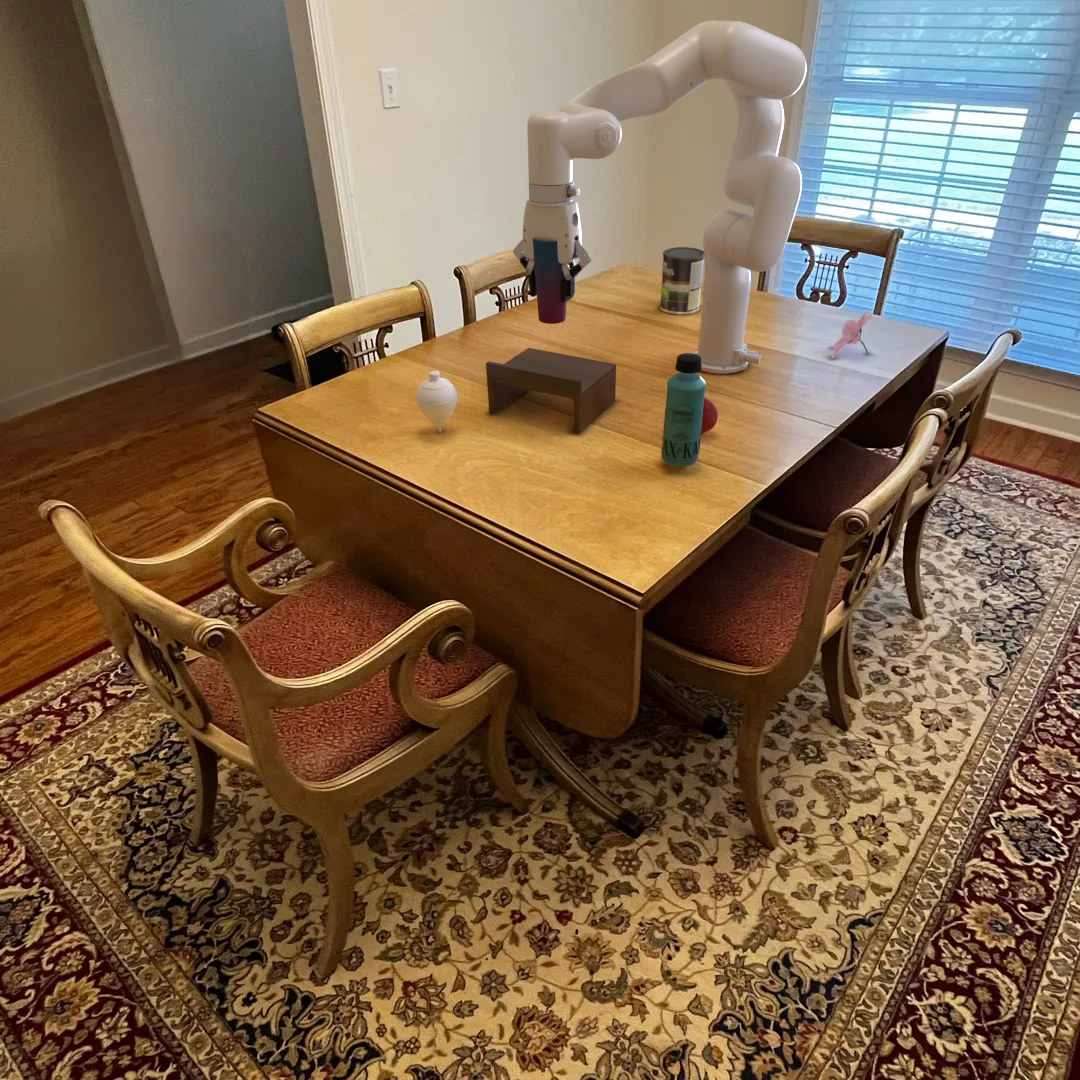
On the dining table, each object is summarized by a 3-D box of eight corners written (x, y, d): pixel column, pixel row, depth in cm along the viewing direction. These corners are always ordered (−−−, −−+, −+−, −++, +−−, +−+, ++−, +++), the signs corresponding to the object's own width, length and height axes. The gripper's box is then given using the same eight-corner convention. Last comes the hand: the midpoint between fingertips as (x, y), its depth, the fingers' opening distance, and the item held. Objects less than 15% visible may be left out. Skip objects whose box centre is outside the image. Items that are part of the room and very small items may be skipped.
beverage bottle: (656, 458, 140) (663, 349, 129) (693, 455, 141) (703, 347, 129) (664, 476, 135) (672, 365, 124) (702, 474, 135) (714, 362, 124)
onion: (717, 429, 149) (722, 389, 144) (712, 443, 145) (717, 402, 140) (686, 425, 151) (690, 386, 146) (681, 438, 146) (684, 398, 142)
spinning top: (443, 444, 147) (437, 383, 140) (411, 435, 150) (404, 375, 143) (468, 428, 152) (463, 369, 145) (436, 419, 155) (430, 361, 148)
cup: (566, 326, 146) (566, 241, 138) (530, 324, 147) (528, 240, 139) (572, 314, 152) (573, 232, 143) (537, 312, 153) (536, 231, 144)
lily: (845, 344, 185) (831, 309, 180) (896, 335, 176) (883, 298, 172) (827, 376, 180) (812, 341, 175) (878, 368, 171) (864, 331, 166)
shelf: (529, 383, 168) (527, 335, 162) (615, 401, 160) (616, 351, 154) (489, 413, 157) (485, 362, 151) (579, 434, 149) (579, 381, 143)
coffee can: (668, 316, 201) (672, 259, 193) (654, 304, 209) (657, 249, 201) (706, 312, 203) (711, 255, 195) (690, 300, 211) (695, 245, 203)
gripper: (605, 193, 136) (602, 297, 146) (518, 185, 143) (521, 285, 153) (586, 201, 131) (584, 309, 141) (496, 193, 138) (501, 296, 148)
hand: (551, 296), depth 147 cm, fingers closed on cup, 6 cm apart
